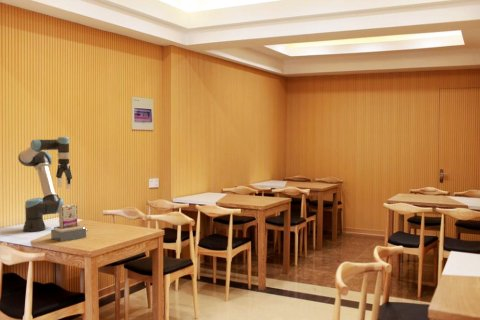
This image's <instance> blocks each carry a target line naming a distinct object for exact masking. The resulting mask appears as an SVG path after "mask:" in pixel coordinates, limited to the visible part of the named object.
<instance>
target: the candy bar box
mask: <svg viewBox="0 0 480 320" xmlns="http://www.w3.org/2000/svg"><path fill="white" fill-rule="evenodd" d="M77 208H78V207H77V204H67V205H63V206H60V207H59V213H58V222H59V223H58V224H59V227H60V229H63V228H70V227H77V224H78V209H77Z"/></svg>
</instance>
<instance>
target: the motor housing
mask: <svg viewBox="0 0 480 320" xmlns="http://www.w3.org/2000/svg"><path fill="white" fill-rule="evenodd" d="M88 231H89V229H88V228H86V227H85V226H84V225H82V224H78V223H77V227H70V228H63V229H60V227H59V226H54V227H53V229H51V230H50V233H51V234H50V236H51V237H50V239H51V240H55V241H58V242H60V243H62V241H63V242H67V241H68V240H69V241H74V240H79V239H85V237H86V238H87V232H88ZM73 239H74V240H73Z"/></svg>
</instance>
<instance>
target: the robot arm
mask: <svg viewBox="0 0 480 320" xmlns="http://www.w3.org/2000/svg"><path fill="white" fill-rule="evenodd" d="M49 151H57V169H56V174H55V177H56V178H57V188H62V187H63V182H62V181H63V179H62V176H63V173H64V175H65V178H66V179H65V181H66V183H65V186H66V187H65V189H67V190H68V189H71V180H72V179H73V176H72V175H73V174H72V171H71V166H70V138H69V136H58V138H57V139H37V138H36V139H31V142H30V146H29V147H28V148H26V149H25V150H22V151H21V152H20V153H19V154H18V157H17V159H18V162H19V163H20V164H21V165H22V166H24V167H33V168H34V170H35V171H37V175H38V178H39V181H40V186H41V190H42V194H43V197H34V198H29V199H27V200H26V201H25V205H24V209H25V222H24V224H23V227H22V228H23V230H22V231H23V232H25V233H33V232H34V233H35V232H42V231H44V230H46V224H45V221H44V218H43V217H44V216H46V215H47V216H48V215H54V214H55V215H56V214H59V207H60V206H64V199H63V197H60V196H59V193H56V190H55V186H54V185H55V184H54V183H53V179H52V175H51V171H50V168H51V166H52V162H53V161H52V159H53V158H52V155H51V154H50V153H49Z"/></svg>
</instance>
